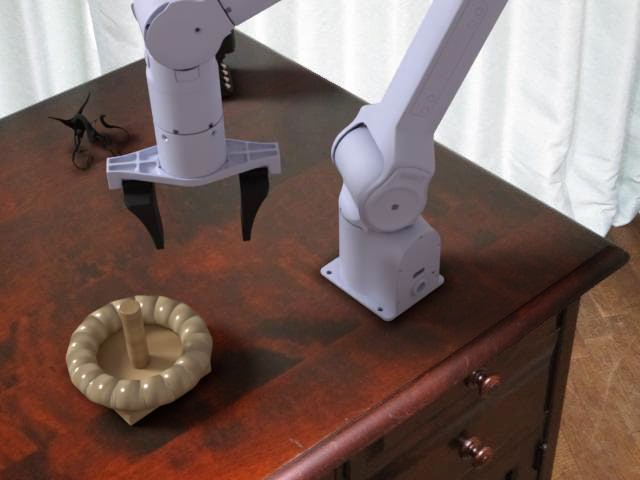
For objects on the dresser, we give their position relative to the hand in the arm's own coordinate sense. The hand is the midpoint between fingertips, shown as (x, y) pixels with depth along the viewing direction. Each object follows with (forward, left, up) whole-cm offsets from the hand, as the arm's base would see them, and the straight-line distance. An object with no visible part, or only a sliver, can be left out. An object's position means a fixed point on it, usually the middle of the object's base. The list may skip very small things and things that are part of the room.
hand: (203, 237), depth 103 cm
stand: (-1, +9, -9) cm, 13 cm away
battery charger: (+29, -25, -10) cm, 39 cm away
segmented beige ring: (-1, +9, -7) cm, 11 cm away
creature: (+29, -7, -10) cm, 31 cm away
